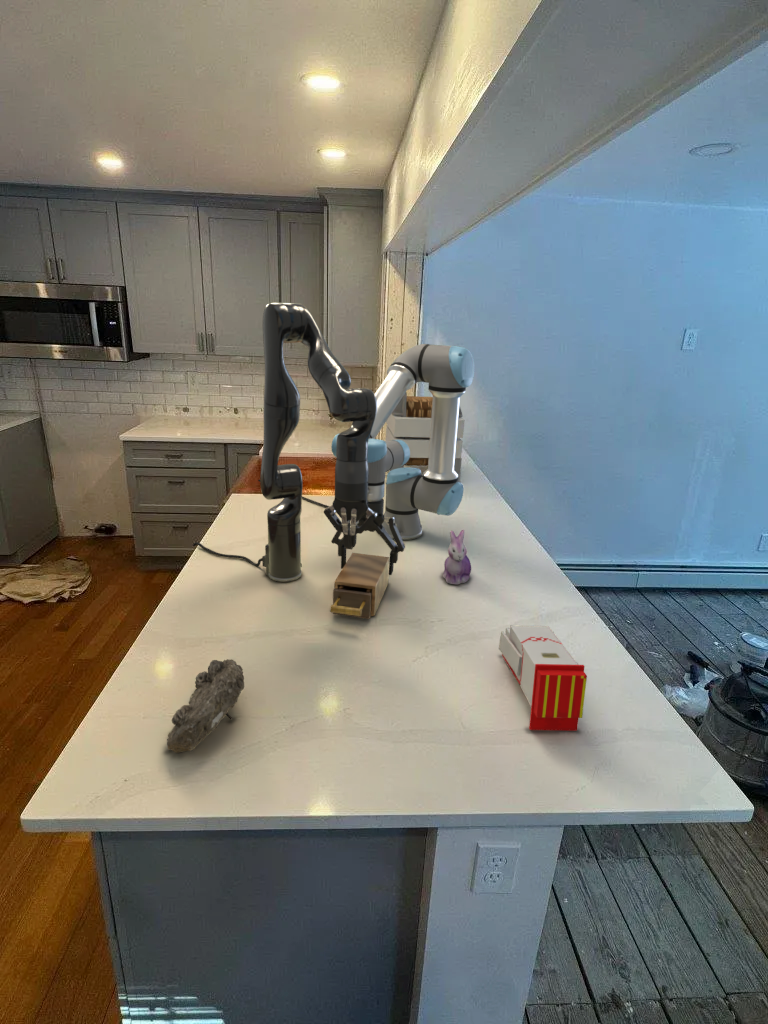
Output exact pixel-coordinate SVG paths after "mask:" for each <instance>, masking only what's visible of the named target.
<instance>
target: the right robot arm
mask: <svg viewBox="0 0 768 1024" xmlns="http://www.w3.org/2000/svg"><path fill="white" fill-rule="evenodd" d="M474 378H475V361H474V357H473V355H472V352H471V351H470V350H469V349H468V348H466V347H464V346H456V345H444V344H443V345H442V344H430V343H419V344H416V345H413V346H412V347H410V348H407V349H406V350H405V351H403V352H402V353H401V354H399V356H397V357H396V358H395V359H394V360H393V361H392V363H391V364H390V365H389V367H388V368H387V371H386V377H385V378H384V380H383V381H382V382H381V384H380V385H379V387H378V388H377V390H376V391H375V393H374V395H375V397H376V400H377V413H376V417H375V421H374V424H373V427H372V431H371V434H370V437H369V441H368V473H369V478H368V496H367V501H368V503H369V508H370V509H371V510H372V511H373V512H377V513H378V515H377V517H376V518H375V520H374V521H373V522H372V523H371V524H370V525H369V526H368V527H367V528H366V529H365V530H364V531H363V532H368V531H369V532H371V533H374V532H376V533H377V534H378V535H379V536H380V538H382V540H383V541H384V543H385V544H386V545H387V546H388V548H389V549H390V552H389V575H388V576H392V575H393V572H394V564H397V562H398V560H399V553H403V552H404V551H405V549H406V545H405V543H404V541H410V540H415V539H418V538H420V537H421V536H422V535H423V525H422V524H421V518H420V515H419V510H420V511H425V512H429V513H432V514H436V515H438V516H439V515H442V516H447V517H448V516H449V517H450V516H452V515H453V514H454V513H456V511H457V510H458V508H459V506H460V504H461V502H462V500H463V496H464V490H465V489H464V484H463V483H462V482H461V481H460V482H458V474H457V473H456V472H455V471H454V464H455V452H456V440H457V428H458V417H459V405H460V403H461V397H462V396H463V395H464V394H465V393H466V390H467V388H469V387H470V386H471V385H472V383H473V382H474ZM417 383H426V384H428V389H427V391H428V392H430V394H431V395H432V397H433V400H432V415H431V430H430V445H429V460H428V466H427V468H426V470H424V471H423V472H422V470H421V468H419V467H413V466H411V467H409V466H406V467H404V468H399V467H401V466H402V465H404V464H406V463H407V461H408V460H409V458H410V449H409V447H408V445H407V444H406V443H405V442H404V441H402V440H391V441H385V439H384V440H383V439H379V438H377V437H378V435H379V434H380V432H381V430H382V429H383V428H384V426H385V424H387V423H386V421H387V420H388V418H389V417H390V415H391V414H392V412H393V411H394V409H395V407H396V406H397V404H398V403H399V401H400V400H401V398H402V397H403V395H404V394H405V392H406V393H407V391H408V390H411V389H413V387H414V386H415V385H416V384H417ZM460 406H461V405H460ZM340 433H341V432H339V433H337V434H335V436H334V437H333V438H332V442H331V445H330V447H331V448H330V449H331V452H332V455H333V456H334V457H335V458H336V452H337V436H338V435H339V434H340ZM404 466H405V465H404ZM395 468H397V469H395ZM390 470H391V471H390ZM386 473H387V475H386ZM257 482H259V483H260V479H258V480H257ZM384 498H385V500H384ZM302 500H305V501H307V502H310V503H313V504H315V505H319V506H321V507H323V508H327V507H330V506H331V505H327V504H323V503H321V502H318V501H315V500H312V499H310V498H307V497H305V496H302ZM384 505H385V507H384ZM384 508H385V509H384ZM366 515H367V513H365V514H364V515H363V516H362V517H361V519H360V520H359V522H358V527H359V526H361V525H362V524H363V523H364V522H365V521H366V520H367V518H366ZM342 534H343V533H342V532H341V531H337V530H336V532H335V533H334V536H333V537H332V539H331V541H330V542H331V543H332V544H333V545H334V544H335V545H337V557H340V569H341V570H342V569H343V567H344V566H345V564H346V562H347V549H346V546H344V545H343V537H342V538H340V537H341V535H342Z"/></svg>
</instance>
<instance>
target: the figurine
mask: <svg viewBox="0 0 768 1024" xmlns="http://www.w3.org/2000/svg"><path fill="white" fill-rule="evenodd" d="M455 533H456V532H454V531H453V530H450V531H449V541H450V544H449V545H448V548H447V554H448V556H447V557H446V558H445V560H444V564H443V565H444V569H443V575H442V576H443V579H444V580H445V582H446V583H447V584H450V585H451V584H452V585H460V584H464V583H466V582H468V580H469V579H470V576H471V573H472V563H471V560H470V558H469V557H468V555H467V553H468V550H467V547H466V545H465V542H464V539H465V535H466V534H465V533H466V532H465V530H464V529H462V530H460V531H459V534H458V535H456V534H455Z"/></svg>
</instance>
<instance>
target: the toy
mask: <svg viewBox="0 0 768 1024" xmlns="http://www.w3.org/2000/svg"><path fill="white" fill-rule="evenodd" d="M499 635H500V636H499V643H498V650H499V652H500V653H501V657H502V658H503V660H504V662H505V663H506V665H507V667H508V669H509V670H510V671H511V673H512V675H513V676H514V678H515V680H516V681H517V683H518V685H520V689H521V691H522V692H523V695H524V696H525V698H526V700H527V702H528V704H529V706H530V715H529V725H528V729H529V731H562V732H563V731H569V732H570V731H572V732H577V731H578V727H579V719H582V718H583V713H584V705H585V697H586V689H587V688H586V687H587V678H588V675H587V673H586V672H585V665H584V664H579V663H578V662H577V661H576V660H575V658H574V657H573V656H572V654H571V653H570V652H569V651H568V649H567V648H566V646H565V645H564V644H563V643H562V642H561V640H560V639H559V637H558V636H557V635H556V633H555V632H554V631H553V630H552V629H551V627H550V626H549V625H516V624H515V625H514V624H513V625H512V624H511V625H510V626H509V627H505V632H504V631H500V634H499Z"/></svg>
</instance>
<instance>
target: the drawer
mask: <svg viewBox="0 0 768 1024" xmlns="http://www.w3.org/2000/svg"><path fill="white" fill-rule="evenodd" d="M371 603H372V589H368V588H360V587H353V586H345V585H340V586H339V589H335V588H334V589H333V590H332V604H330V610H329V611H330V613H332V614H333V615H339V616H346V617H353V618H359V619H360V618H361V619H368V620H369V619H370V618H371V616H370V614H371Z"/></svg>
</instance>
